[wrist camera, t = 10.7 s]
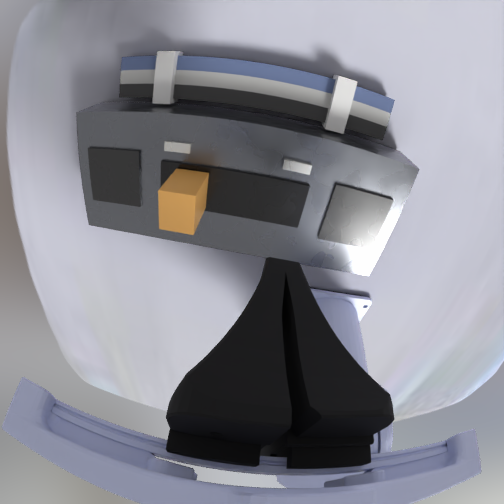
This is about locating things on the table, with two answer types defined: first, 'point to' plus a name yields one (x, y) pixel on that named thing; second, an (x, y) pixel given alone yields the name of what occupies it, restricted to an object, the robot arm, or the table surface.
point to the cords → (257, 89)
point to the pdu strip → (245, 181)
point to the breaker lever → (182, 201)
